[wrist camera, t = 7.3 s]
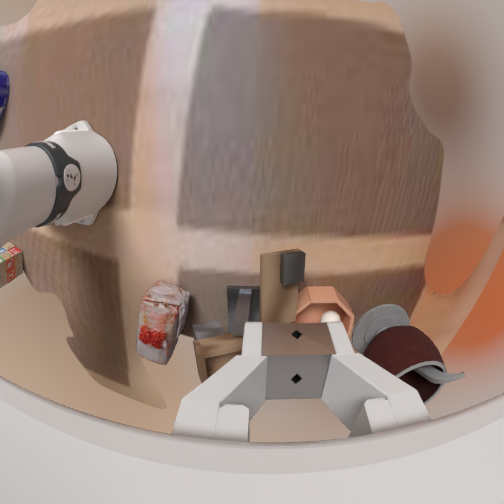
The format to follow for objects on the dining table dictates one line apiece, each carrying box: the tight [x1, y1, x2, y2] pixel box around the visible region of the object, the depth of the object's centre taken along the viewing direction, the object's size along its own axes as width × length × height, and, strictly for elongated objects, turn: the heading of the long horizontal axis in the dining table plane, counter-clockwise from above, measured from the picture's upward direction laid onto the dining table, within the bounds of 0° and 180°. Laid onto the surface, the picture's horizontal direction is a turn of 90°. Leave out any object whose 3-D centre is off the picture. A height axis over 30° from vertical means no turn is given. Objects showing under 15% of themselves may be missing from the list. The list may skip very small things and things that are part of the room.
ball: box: [320, 311, 341, 323], centre depth 46 cm, size 4×4×4 cm
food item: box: [136, 281, 190, 365], centre depth 45 cm, size 14×8×10 cm, turn 164°
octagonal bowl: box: [289, 286, 354, 338], centre depth 46 cm, size 11×11×4 cm
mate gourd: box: [352, 304, 465, 405], centre depth 40 cm, size 16×14×20 cm
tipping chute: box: [192, 249, 306, 383], centre depth 39 cm, size 15×18×8 cm
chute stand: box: [227, 286, 260, 336], centre depth 44 cm, size 6×11×11 cm, turn 0°
